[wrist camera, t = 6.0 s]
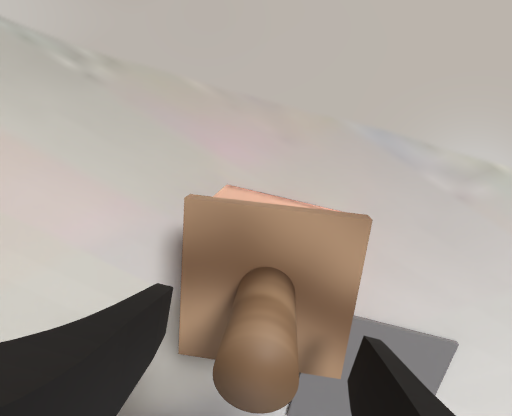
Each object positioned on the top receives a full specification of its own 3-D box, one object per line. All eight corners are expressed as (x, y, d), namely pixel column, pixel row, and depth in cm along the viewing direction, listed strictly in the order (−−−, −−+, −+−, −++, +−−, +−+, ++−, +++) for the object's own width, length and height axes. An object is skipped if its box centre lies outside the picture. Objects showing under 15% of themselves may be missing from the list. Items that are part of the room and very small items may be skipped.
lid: (338, 366, 16) (366, 500, 10) (183, 343, 16) (128, 456, 10) (367, 215, 14) (423, 274, 8) (190, 194, 14) (125, 235, 8)
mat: (408, 444, 21) (410, 448, 21) (287, 411, 21) (287, 415, 21) (456, 341, 19) (458, 344, 19) (320, 307, 19) (320, 309, 19)
